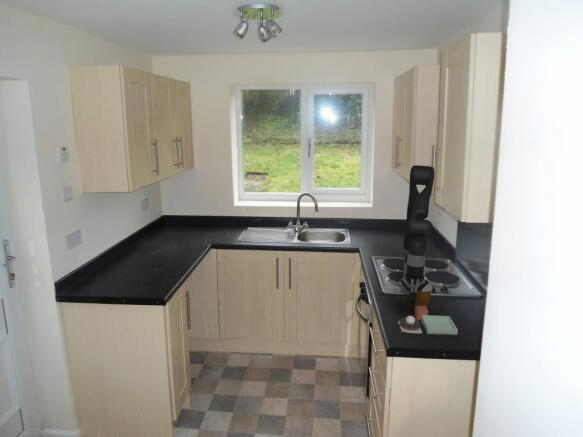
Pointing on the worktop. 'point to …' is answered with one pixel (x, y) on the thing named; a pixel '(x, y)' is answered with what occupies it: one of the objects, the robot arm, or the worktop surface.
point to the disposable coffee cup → (423, 295)
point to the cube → (420, 311)
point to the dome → (410, 320)
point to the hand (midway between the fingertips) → (412, 299)
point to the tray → (438, 325)
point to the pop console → (409, 326)
